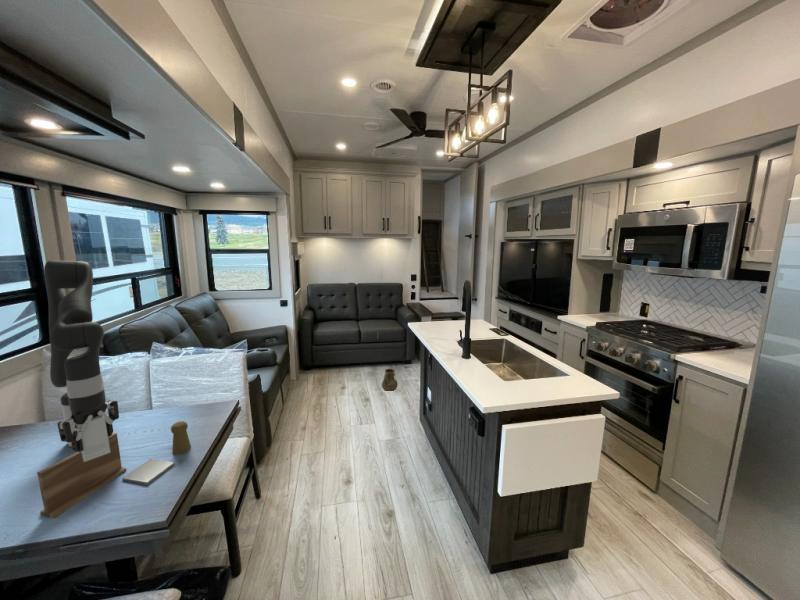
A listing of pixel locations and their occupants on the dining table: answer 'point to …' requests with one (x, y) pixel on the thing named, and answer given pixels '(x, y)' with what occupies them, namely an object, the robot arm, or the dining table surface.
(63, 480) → the walnut screen
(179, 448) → the olive stepped cylinder
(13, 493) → the dining table surface
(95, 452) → the skincare box
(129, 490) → the dining table surface
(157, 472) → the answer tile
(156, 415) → the dining table surface
